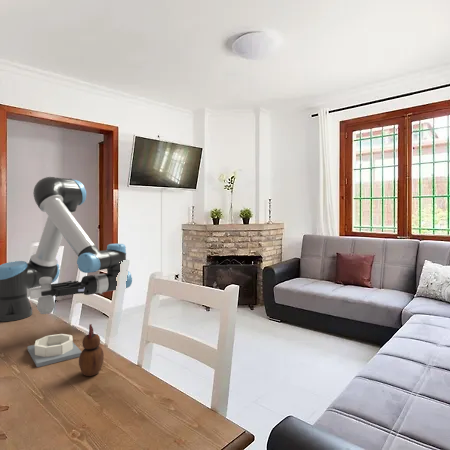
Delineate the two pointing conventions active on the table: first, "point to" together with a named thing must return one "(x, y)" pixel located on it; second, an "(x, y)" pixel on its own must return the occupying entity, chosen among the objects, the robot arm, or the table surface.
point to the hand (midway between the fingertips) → (29, 293)
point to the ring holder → (54, 350)
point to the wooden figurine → (91, 354)
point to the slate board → (44, 361)
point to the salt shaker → (45, 303)
